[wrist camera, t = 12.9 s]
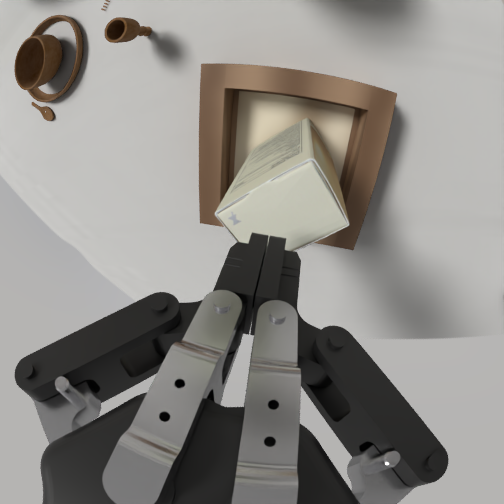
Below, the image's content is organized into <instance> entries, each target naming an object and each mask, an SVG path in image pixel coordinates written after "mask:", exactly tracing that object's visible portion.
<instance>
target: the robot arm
mask: <svg viewBox="0 0 504 504" xmlns="http://www.w3.org/2000/svg"><path fill="white" fill-rule="evenodd" d="M268 238H269V242H268ZM267 245H268V246H267ZM285 245H286V238H282V237H276V236H271V235H270V237H269V235H264V234H259V233H253V232H252V234H251V236H250V240H249V243H242V242H237V243H236V244H235V245H234V246H232V247H231V248H230V250H229V253H228V255H227V258H226V260H225V263H224V265H223V268H222V270H221V273H220V275H219V278H218V280H217V283H216V285H215V288H214V290H213V292H211V293H209V294H207V295H206V296H205V297H204V299H203V300H201V301H198V302H191V303H179V302H178V300H177V298H176V297H175V296H173V295H172V294H169V293H165V292H159V293H154V294H152V295H149V296H147V297H145V298H143V299H141V300H139V301H137V302H135V303H133V304H131V305H129V306H127V307H125V308H123V309H121V310H119V311H117V312H115V313H113V314H111V315H109V316H107V317H104V318H103V319H101V320H98V321H96V322H94V323H92V324H90V325H88V326H86V327H84V328H82V329H80V330H78V331H76V332H74V333H72V334H70V335H68V336H66V337H64V338H62V339H60V340H58V341H56V342H54V343H52V344H50V345H48V346H46V347H44V348H42V349H40V350H38V351H36V352H34V353H32V354H30V355H28V356H26V357H24V358H23V359H21V360H20V362H19V363H18V365H17V367H16V369H15V380H16V383H17V385H18V386H19V387H20V388H21V389H22V390H24V391H25V392H26V393H27V394H28V395H29V396H30V397H31V398H32V399H33V401H34V403H35V406H36V409H37V412H38V415H39V418H40V420H41V423H42V426H43V429H44V431H45V434H46V436H47V439H48V441H49V443H50V444H49V446H48V447H47V448H46V450H45V451H44V453H43V456H42V459H41V475H42V481H43V504H397V503H398V502H399V501H401V500H402V499H403V498H404V497H405V496H406V495H407V494H408V493H409V492H410V491H411V490H412V489H414V488H415V487H417V486H421V485H425V484H428V483H432V482H435V481H437V480H438V479H439V478H441V477H442V476H443V474H444V473H445V471H446V469H447V466H448V455H447V452H446V450H445V448H444V447H443V446H442V445H441V443H440V442H439V441H438V440H437V438H436V437H435V436H434V434H433V433H432V432H431V431H430V429H429V428H428V427H427V426H426V424H425V423H424V422H423V421H422V419H421V418H420V417H419V416H418V414H417V413H416V412H415V411H414V409H413V408H412V407H411V406H410V405H409V403H408V402H407V401H406V400H405V398H404V397H403V396H402V395H401V393H400V392H399V391H398V390H397V389H396V387H395V386H394V385H393V384H392V383H391V382H390V380H389V379H388V378H387V376H386V375H385V374H384V373H383V372H382V371H381V369H380V368H379V367H378V366H377V364H376V363H375V362H374V361H373V360H372V358H371V357H370V356H369V355H368V354H367V352H365V350H364V349H363V348H362V347H361V345H360V344H359V343H358V342H357V341H356V339H355V338H354V337H353V336H352V335H351V334H350V333H349V332H348V331H347V330H346V329H344V328H341V327H338V326H328V327H325V328H323V329H322V330H320V329H318V328H316V327H314V326H312V325H310V324H308V323H307V322H305V321H304V320H303V319H302V318H301V317H300V315H299V313H298V311H297V299H298V288H299V277H300V265H301V260H300V258H299V256H298V254H297V252H294V251H288V250H285ZM251 323H252V326H251ZM250 327H251V335H254V340H253V346H252V353H251V359H250V367H249V374H248V382H247V389H246V396H245V403H244V407H224V406H221V405H220V404H221V400H222V397H223V392H224V388H225V385H226V383H227V379H228V377H229V374H230V372H231V369H232V366H233V363H234V361H235V358H236V355H237V352H238V348H239V346H240V343H241V339H242V335H243V333H244V334H249V331H250ZM156 373H157V375H156V377H155V379H154V381H153V382H152V384H151V386H150V388H149V390H148V392H147V393H143V394H140V395H138V396H136V397H134V398H132V399H130V400H128V401H127V402H125V403H124V404H122V405H120V406H118V407H116V408H115V409H113V410H111V411H109V412H108V413H106V414H104V415H102V416H100V417H99V418H97V417H98V416H99V413H100V410H101V403H102V402H104V401H106V400H108V399H110V398H112V397H114V396H116V395H117V394H120V393H121V392H123V391H125V390H127V389H129V388H131V387H133V386H134V385H136V384H138V383H140V382H142V381H144V380H146V379H147V378H149V377H151V376H153V375H154V374H156ZM301 386H302V388H303V389H304V391H305V392H306V394H307V395H308V396H309V398H310V399H311V401H312V402H313V403H314V405H315V406H316V408H317V409H318V411H319V412H320V413H321V415H322V416H323V417H324V419H325V420H326V422H327V423H328V425H329V426H330V427H331V429H332V430H333V431H334V433H335V434H336V436H337V437H338V438H339V440H340V441H341V442H342V444H343V445H344V447H345V448H346V449H347V451H348V452H349V453H350V455H351V456H352V457H353V458H352V459H351V460H350V462H349V464H348V467H347V473H348V477H349V479H350V481H351V483H352V491H351V490H350V488H349V487H348V485H347V484H346V482H345V481H344V479H343V478H342V477H341V475H340V474H339V472H338V471H337V469H336V468H335V466H334V465H333V463H332V462H331V460H330V459H329V457H328V456H327V454H326V453H325V451H324V450H323V448H322V447H321V445H320V443H319V442H318V440H317V439H316V438H315V437H314V435H313V434H312V433H311V432H310V431H309V430H308V429H307V428H305V427H304V426H303V425H301V424H300V396H301V395H300V394H301ZM95 418H97V419H95ZM94 419H95V420H94ZM92 420H93V421H92Z"/></svg>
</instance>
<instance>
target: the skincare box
mask: <svg viewBox="0 0 504 504" xmlns="http://www.w3.org/2000/svg"><path fill="white" fill-rule="evenodd" d="M215 216H216V217H217V218H218V219H219V221H220V222H221V223H222V224H223V226H224V227H225V228H226V229H227V231H228V232H229V233H230V235H231V236H232V237H233V238H234V239H235V241H236V242H242V243H249V240H250V236H251V234H252V232H253V233H259V234H264V235H269V237H270V235H271V236H276V237H282V238H286V245H285V250H288V251H294V252H295V251H297V250H299V249H301V248H304V247H306V246H308V245H310V244H312V243H314V242H317V241H319V240H321V239H323V238H325V237H327V236H329V235H331V234H333V233H335V232H337V231H339V230H341V229H343V228H345V227H348V226H349V219H348V215H347V211H346V207H345V203H344V199H343V195H342V191H341V188H340V184H339V180H338V177H337V173H336V170H335V166H334V163H333V159H332V156H331V154H330V152H329V150H328V148H327V147H326V145H325V143H324V141H323V140H322V138H321V136H320V135H319V133H318V131H317V130H316V128H315V127H314V125H313V123H312V122H311V120H310V119H309V118H306V119H303V120H301V121H299V122H298V123H296V124H294V125H292V126H290V127H288V128H286V129H285V130H283V131H281V132H280V133H278V134H276V135H275V136H273V137H271V138H270V139H268V140H267V141H265V142H263V143H262V144H260V145H259V146H257V147H256V148H254V149H253V150H252V151H251V153H250V154H249V156H248V158H247V159H246V161H245V163H244V164H243V166H242V167H241V169H240V171H239V172H238V174H237V176H236V177H235V179H234V181H233V182H232V184H231V186H230V187H229V189H228V191H227V193H226V194H225V196H224V198H223V200H222V201H221V203H220V205H219V207H218V208H217V210H216V212H215ZM268 242H269V238H268ZM267 246H268V245H267Z"/></svg>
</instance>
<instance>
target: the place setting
mask: <svg viewBox="0 0 504 504" xmlns="http://www.w3.org/2000/svg"><path fill="white" fill-rule="evenodd" d="M106 1H107V2H110V1H108V0H106ZM104 4H106V5H108V4H107V3H104ZM103 7H106V6H103ZM106 8H107V7H106ZM101 10H105V9H101ZM59 21H67V22H69V23H70V24H71V26H72V27H73V30H74V32H75V36H76V44H77V51H76V60H75V64H74V68H73V71H72V74H71V76H70V79H69V81H68V82H67V84H66V86H65V87H64V89H63V90H62V91H60V92H58V93H56V94H46V93H43V92H42V91H41V90H40V89H39V88H38V87H39V86H41V85H44V84H46V83H47V82H49V81H50V80H51V79H52V78H53V77H54V76H55V74H56V73H57V71H58V69H59V66H60V63H61V61H62V55H63V53H62V48H61V44H60V42H59V40H58V39H57V38H56V37H55V36H52V35H41V34H42V33H43V32H44V31H45V30H46V29H47V28H48V27H49V26H50V25H52V24H53V23H56V22H59ZM151 32H152V29H151V28H150V27H144V26H141V27H140V25H139V23H138V22H137V21H136V20H134V19H130V18H114V19H113V20H111V21H110V22H109V23H108V24H107V26H106V28H105V38H106V39H107V40H108V41H109V42H113V43H118V42H127V41H131V40H133V39H134V38H136V37H137V35H139V36H143V35H144V36H149V35H150V34H151ZM82 54H83V39H82V34H81V31H80V28H79V26H78V25H77V23H76V22H75V21H74V20H73V19H71V18H70V17H68V16H64V15H55V16H51V17H49V18H47V19H46V20H44V21H43V22H42V23H40V24H39V25H38V27H37V28H36V29H35V30H34V32H33V33H32V35H31V37H29V38H28V39H26V40H25V41H24V42H23V44H22V45H21V47H20V49H19V51H18V53H17V56H16V60H15V77H16V81H17V83H18V85H19V86H20V87H21V88H22V89H24V90H28V92H29V93H30V95H31V96H32V97H33V98H34V99H36V100H37V101H40V102H50V101H53V100H55V99H57V98H59V97H60V96H61V95H63V94H64V93H65V92H66V91H67V90H68V88H69V87H70V86H71V84H72V83H73V81H74V80H75V77H76V75H77V73H78V71H79V68H80V64H81V60H82ZM32 105H33V106H34V107H36V108H37V109H38V110H39V111H40V112H41V113H42V116H43V117H44V119H45V120H47V121H51V120H53V118H54V114H53V112H52V110H51V109H50V108H49V107H40V106H38V105H37V104H35V103H34V102H32ZM45 111H46V113H45Z"/></svg>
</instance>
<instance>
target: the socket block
mask: <svg viewBox="0 0 504 504" xmlns="http://www.w3.org/2000/svg"><path fill="white" fill-rule="evenodd" d="M396 97H397V93H394V92H391V91H388V90H385V89H382V88H378V87H375V86H371V85H368V84H364V83H360V82H356V81H352V80H348V79H343V78H339V77H334V76H329V75H324V74H319V73H313V72H307V71H301V70H294V69H287V68H278V67H269V66H258V65H243V64H201V82H200V113H199V202H200V223H203V224H209V225H216V226H222V227H224V226H223V224H222V223H221V222H220V221H219V219H218V218H217V217H216V216H215V212H216V210H217V208H218V207H219V205H220V203H221V201H222V200H223V198H224V196H225V194H226V193H227V191H228V189H229V187H230V186H231V184H232V182H233V181H234V179H235V177H236V176H237V174H238V172H239V171H240V169H241V167H242V166H243V164H244V163H245V161H246V159H247V158H248V156H249V154H250V153H251V151H252V150H253V149H254V148H256V147H257V146H259V145H260V144H262V143H263V142H265V141H267V140H268V139H270V138H271V137H273V136H275V135H276V134H278V133H280V132H281V131H283V130H285V129H286V128H288V127H290V126H292V125H294V124H296V123H298V122H299V121H301V120H303V119H306V118H309V119H310V120H311V122H312V123H313V125H314V127H315V128H316V130H317V131H318V133H319V135H320V136H321V138H322V140H323V141H324V143H325V145H326V147H327V148H328V150H329V152H330V154H331V156H332V159H333V163H334V166H335V170H336V173H337V177H338V180H339V184H340V188H341V191H342V195H343V199H344V203H345V207H346V211H347V215H348V219H349V226H348V227H345V228H343V229H341V230H339V231H337V232H335V233H333V234H331V235H329V236H327V237H325V238H323V239H321V240H319V241H317V242H314V243H318V244H324V245H329V246H334V247H340V248H345V249H350V250H353V249H354V247H355V244H356V241H357V238H358V235H359V232H360V230H361V227H362V224H363V221H364V218H365V215H366V212H367V208H368V205H369V202H370V199H371V196H372V192H373V189H374V186H375V182H376V179H377V175H378V172H379V168H380V165H381V161H382V157H383V154H384V150H385V146H386V142H387V138H388V134H389V129H390V125H391V121H392V116H393V111H394V107H395V102H396Z"/></svg>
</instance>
